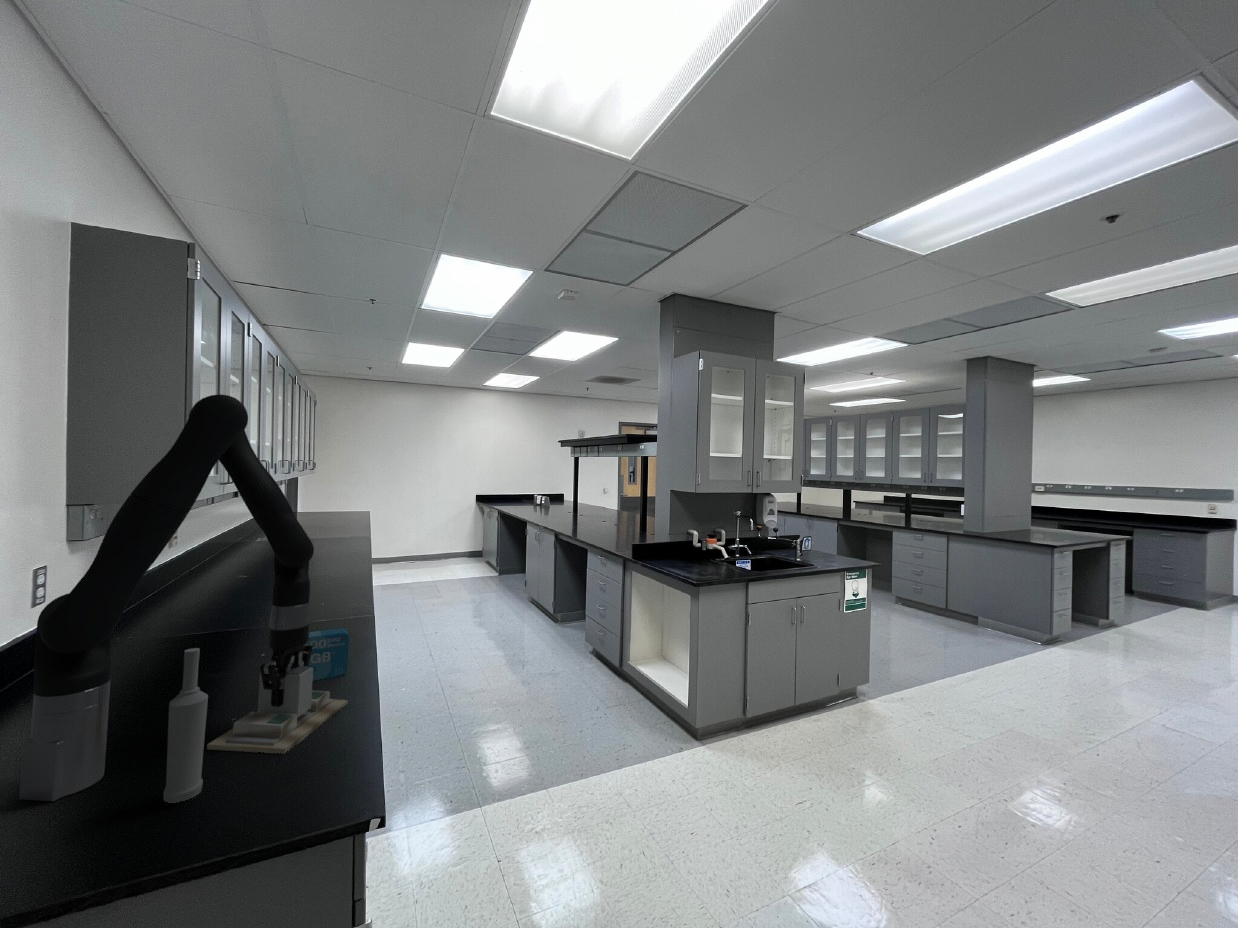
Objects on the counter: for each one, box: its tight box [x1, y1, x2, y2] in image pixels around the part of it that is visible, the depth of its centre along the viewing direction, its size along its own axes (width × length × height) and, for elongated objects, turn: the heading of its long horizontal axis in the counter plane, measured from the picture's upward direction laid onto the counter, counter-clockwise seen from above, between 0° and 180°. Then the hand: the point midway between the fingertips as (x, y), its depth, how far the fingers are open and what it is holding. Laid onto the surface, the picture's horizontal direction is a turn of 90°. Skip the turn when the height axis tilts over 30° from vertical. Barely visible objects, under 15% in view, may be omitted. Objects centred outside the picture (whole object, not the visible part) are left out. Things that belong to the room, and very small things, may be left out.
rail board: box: [206, 690, 349, 755], centre depth 112 cm, size 22×16×4 cm
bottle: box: [163, 647, 209, 803], centre depth 87 cm, size 5×5×25 cm
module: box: [257, 666, 313, 717], centre depth 112 cm, size 4×9×9 cm, turn 88°
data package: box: [302, 628, 350, 681], centre depth 138 cm, size 12×4×12 cm, turn 124°
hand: (285, 700), depth 112 cm, fingers closed on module, 4 cm apart
